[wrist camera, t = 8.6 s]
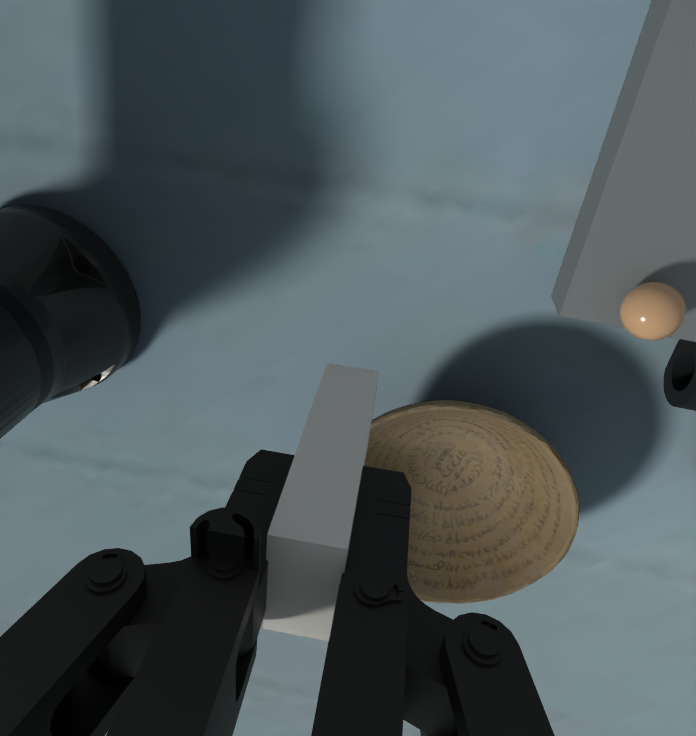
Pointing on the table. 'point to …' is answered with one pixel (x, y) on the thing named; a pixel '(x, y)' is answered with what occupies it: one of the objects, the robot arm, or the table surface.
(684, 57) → the slate board
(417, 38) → the table surface
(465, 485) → the bowl
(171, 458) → the table surface
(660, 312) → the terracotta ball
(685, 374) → the pipe connector
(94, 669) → the robot arm
